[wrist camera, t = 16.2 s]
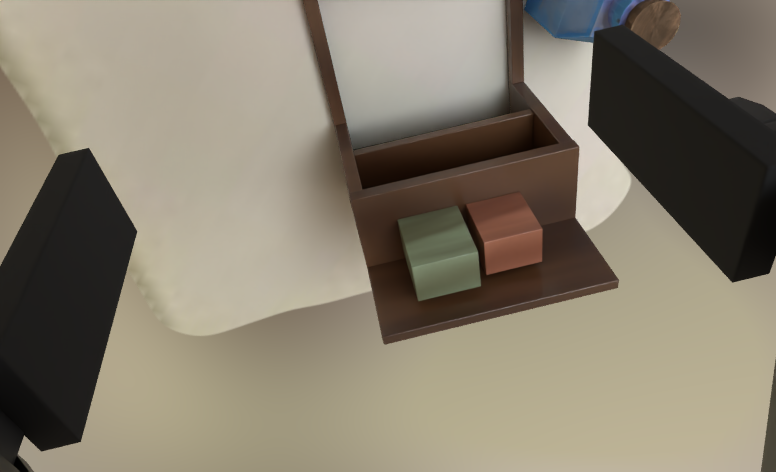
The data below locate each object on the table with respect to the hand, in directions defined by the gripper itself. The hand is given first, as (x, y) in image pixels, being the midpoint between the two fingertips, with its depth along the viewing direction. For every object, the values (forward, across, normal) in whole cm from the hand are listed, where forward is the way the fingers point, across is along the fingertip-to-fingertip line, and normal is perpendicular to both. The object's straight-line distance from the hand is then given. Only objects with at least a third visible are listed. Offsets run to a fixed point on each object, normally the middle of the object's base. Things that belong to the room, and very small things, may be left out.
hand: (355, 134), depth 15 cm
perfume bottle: (+31, +20, -8) cm, 37 cm away
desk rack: (+31, +7, -13) cm, 34 cm away
